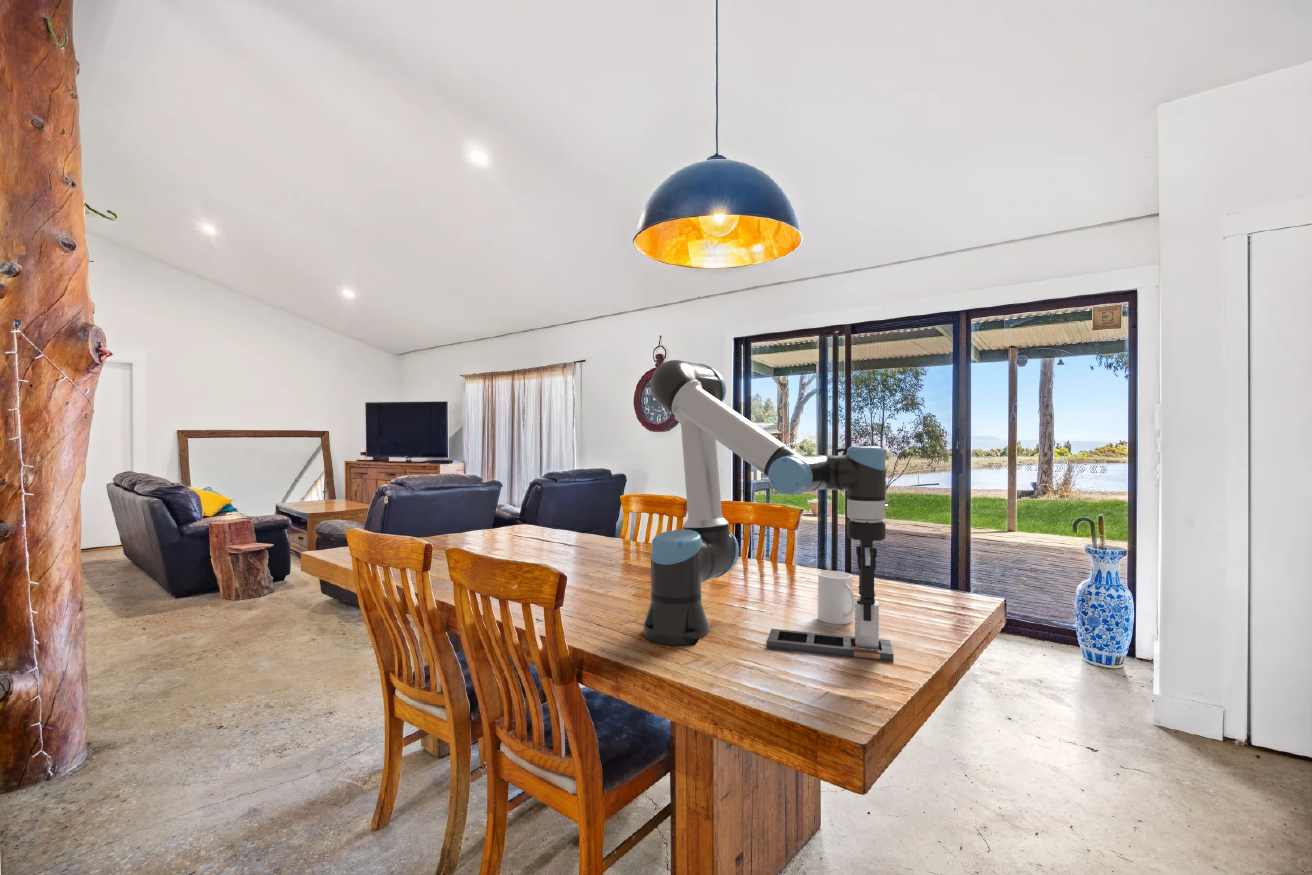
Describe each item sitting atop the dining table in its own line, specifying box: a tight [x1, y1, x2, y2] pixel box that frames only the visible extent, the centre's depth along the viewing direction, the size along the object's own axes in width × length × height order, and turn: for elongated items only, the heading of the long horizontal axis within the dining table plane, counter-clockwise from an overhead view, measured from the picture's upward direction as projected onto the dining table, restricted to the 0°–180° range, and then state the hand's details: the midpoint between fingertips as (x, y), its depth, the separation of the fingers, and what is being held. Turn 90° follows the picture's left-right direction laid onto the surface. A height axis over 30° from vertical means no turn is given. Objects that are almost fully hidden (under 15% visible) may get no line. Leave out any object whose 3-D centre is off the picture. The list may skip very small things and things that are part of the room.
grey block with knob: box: [854, 597, 880, 650], centre depth 122 cm, size 4×4×10 cm
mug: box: [817, 570, 855, 625], centre depth 143 cm, size 12×8×12 cm
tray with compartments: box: [766, 628, 894, 663], centre depth 124 cm, size 25×8×2 cm, turn 73°
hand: (866, 631), depth 122 cm, fingers closed on grey block with knob, 4 cm apart
